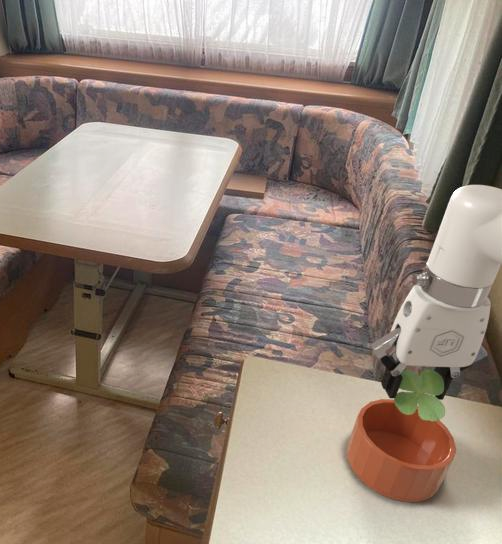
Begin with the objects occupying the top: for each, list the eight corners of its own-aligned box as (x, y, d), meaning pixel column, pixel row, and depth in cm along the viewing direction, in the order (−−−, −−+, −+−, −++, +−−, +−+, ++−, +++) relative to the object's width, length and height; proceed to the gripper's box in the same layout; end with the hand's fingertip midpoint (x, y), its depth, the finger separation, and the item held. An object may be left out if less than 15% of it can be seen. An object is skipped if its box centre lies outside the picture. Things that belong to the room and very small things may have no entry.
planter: (416, 431, 93) (430, 400, 90) (456, 503, 82) (474, 470, 78) (335, 429, 93) (345, 397, 89) (364, 501, 82) (377, 468, 78)
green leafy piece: (406, 423, 85) (418, 434, 78) (372, 378, 86) (380, 385, 80) (449, 396, 84) (464, 404, 77) (413, 351, 85) (425, 355, 79)
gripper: (398, 299, 68) (360, 410, 77) (540, 304, 69) (485, 413, 78) (375, 266, 74) (342, 372, 84) (505, 271, 75) (458, 375, 84)
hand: (412, 391), depth 81 cm, fingers closed on green leafy piece, 6 cm apart
